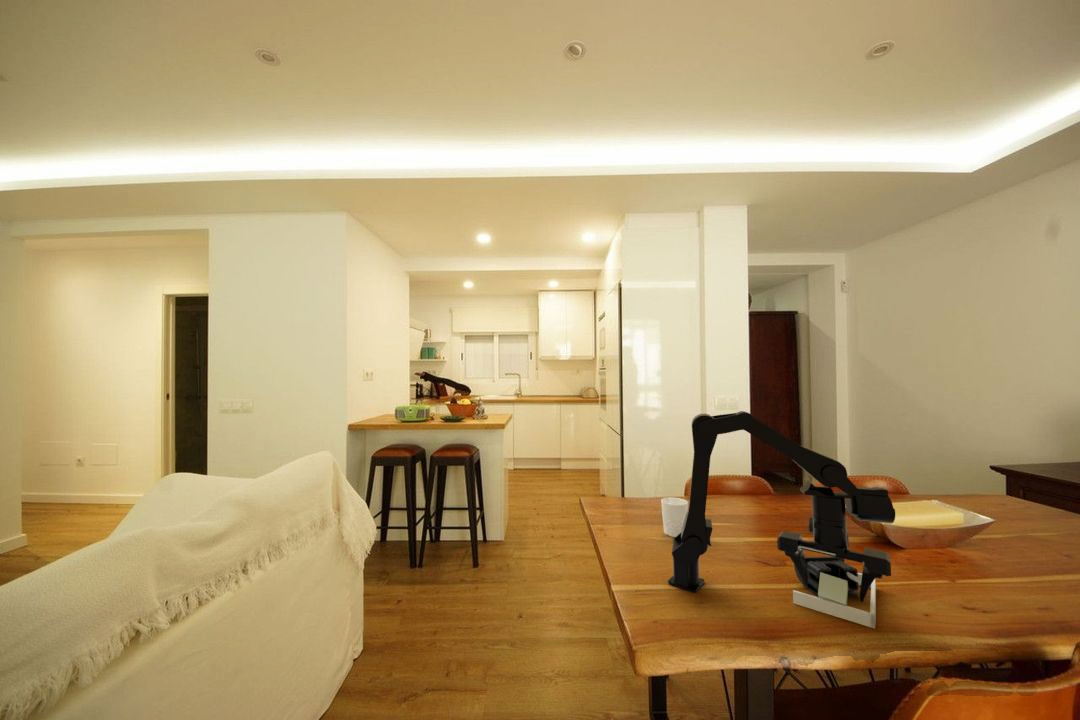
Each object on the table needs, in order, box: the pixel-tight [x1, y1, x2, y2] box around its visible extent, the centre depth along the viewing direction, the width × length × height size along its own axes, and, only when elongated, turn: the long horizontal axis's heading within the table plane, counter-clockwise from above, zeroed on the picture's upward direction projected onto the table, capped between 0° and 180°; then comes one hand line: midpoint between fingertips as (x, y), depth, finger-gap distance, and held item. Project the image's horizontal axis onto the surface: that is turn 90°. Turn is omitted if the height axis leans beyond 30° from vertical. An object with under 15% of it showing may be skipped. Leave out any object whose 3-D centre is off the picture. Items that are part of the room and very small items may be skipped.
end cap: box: [793, 555, 860, 598], centre depth 88 cm, size 10×7×7 cm
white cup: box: [660, 496, 689, 538], centre depth 121 cm, size 8×8×10 cm
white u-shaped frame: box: [792, 572, 877, 629], centre depth 85 cm, size 19×13×3 cm
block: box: [818, 572, 848, 606], centre depth 80 cm, size 4×4×5 cm
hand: (833, 593), depth 81 cm, fingers open, 9 cm apart
